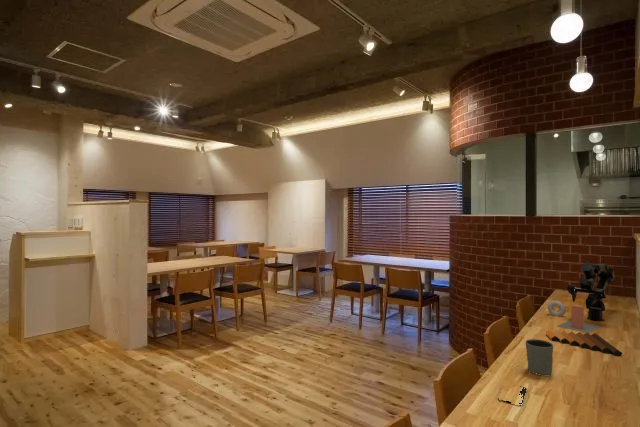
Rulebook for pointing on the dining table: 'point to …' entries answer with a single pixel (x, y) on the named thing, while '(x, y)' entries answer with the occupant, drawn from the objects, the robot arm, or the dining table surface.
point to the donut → (559, 304)
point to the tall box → (577, 317)
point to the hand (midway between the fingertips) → (582, 303)
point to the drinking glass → (539, 356)
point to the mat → (587, 329)
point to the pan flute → (584, 341)
